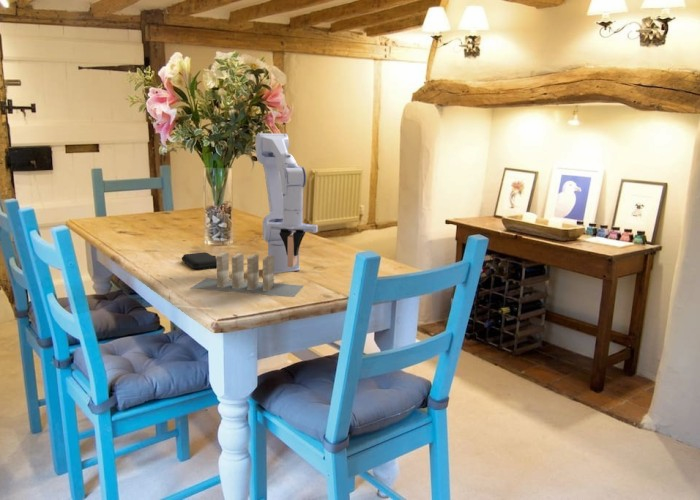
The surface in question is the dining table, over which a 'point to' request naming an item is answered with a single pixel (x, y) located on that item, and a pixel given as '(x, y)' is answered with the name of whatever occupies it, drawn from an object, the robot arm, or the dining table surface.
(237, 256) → the ivory domino
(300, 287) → the slate runway mat
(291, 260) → the terracotta domino
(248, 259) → the wooden block
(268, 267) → the wooden block
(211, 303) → the dining table surface
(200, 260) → the carrying case or bag
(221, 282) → the beige wooden block
